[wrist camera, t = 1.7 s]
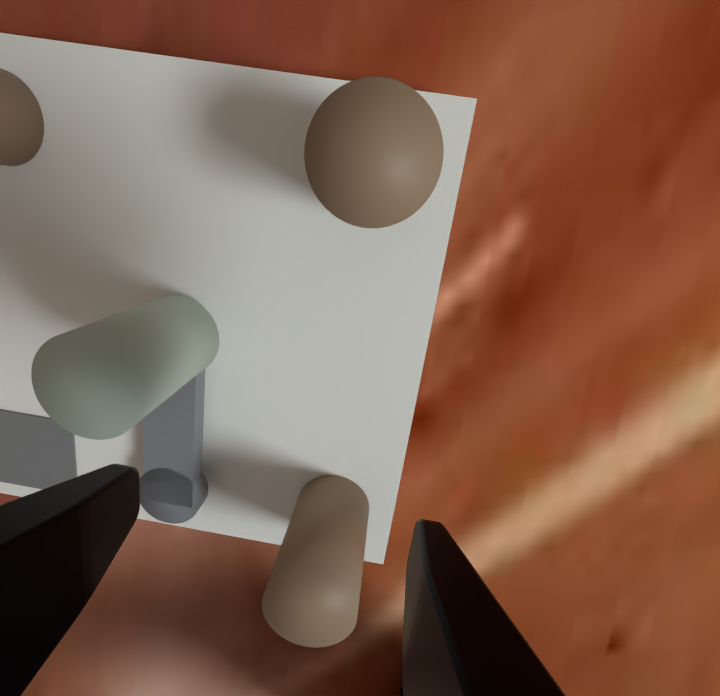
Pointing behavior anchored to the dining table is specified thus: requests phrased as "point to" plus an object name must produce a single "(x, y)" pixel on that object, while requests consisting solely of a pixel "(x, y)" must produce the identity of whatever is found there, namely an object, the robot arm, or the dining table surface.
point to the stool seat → (235, 283)
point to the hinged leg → (138, 392)
